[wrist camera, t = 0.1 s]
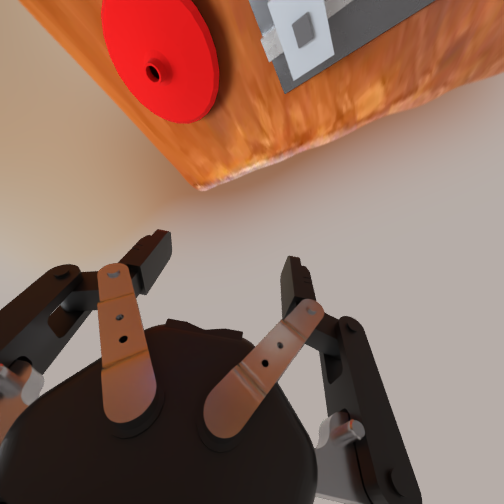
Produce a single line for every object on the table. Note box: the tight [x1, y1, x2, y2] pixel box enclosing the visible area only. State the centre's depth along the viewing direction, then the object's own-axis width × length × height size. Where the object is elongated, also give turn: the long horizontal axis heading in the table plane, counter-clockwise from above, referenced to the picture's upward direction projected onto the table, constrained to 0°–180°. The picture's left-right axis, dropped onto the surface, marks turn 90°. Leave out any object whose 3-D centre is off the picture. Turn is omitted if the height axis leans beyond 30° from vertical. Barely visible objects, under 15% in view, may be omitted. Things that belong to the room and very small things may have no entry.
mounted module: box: [267, 0, 334, 81], centre depth 22 cm, size 7×5×7 cm
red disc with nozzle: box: [101, 0, 219, 123], centre depth 28 cm, size 16×16×7 cm
